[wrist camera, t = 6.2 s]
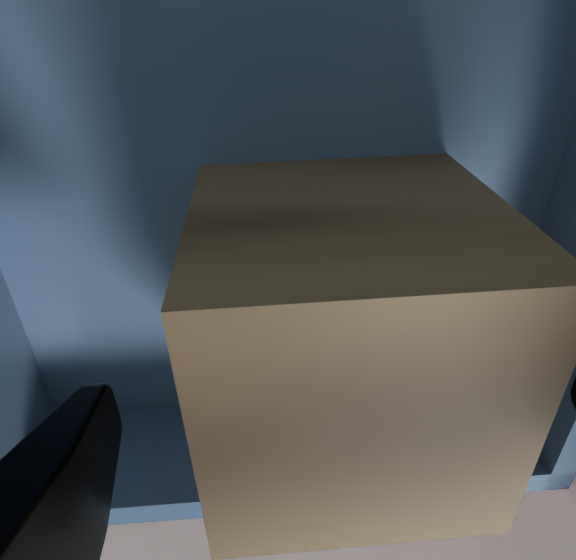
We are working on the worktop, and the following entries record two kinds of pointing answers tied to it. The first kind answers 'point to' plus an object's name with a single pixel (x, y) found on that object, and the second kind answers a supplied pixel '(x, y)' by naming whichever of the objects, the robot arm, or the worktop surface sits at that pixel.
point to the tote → (233, 150)
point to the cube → (363, 352)
